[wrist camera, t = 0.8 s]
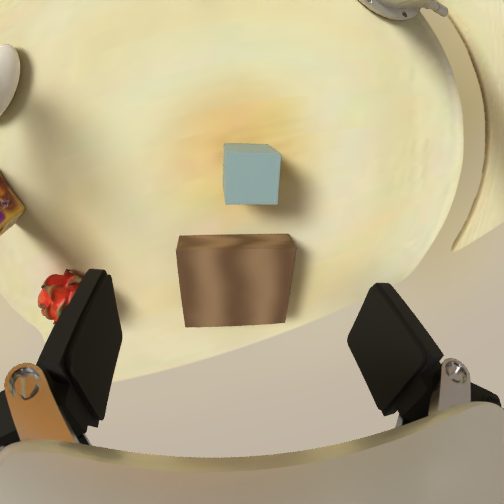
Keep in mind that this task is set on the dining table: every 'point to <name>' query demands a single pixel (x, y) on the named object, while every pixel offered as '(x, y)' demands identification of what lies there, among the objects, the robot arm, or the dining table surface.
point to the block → (250, 173)
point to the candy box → (8, 206)
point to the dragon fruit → (57, 294)
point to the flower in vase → (8, 74)
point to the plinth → (235, 278)
